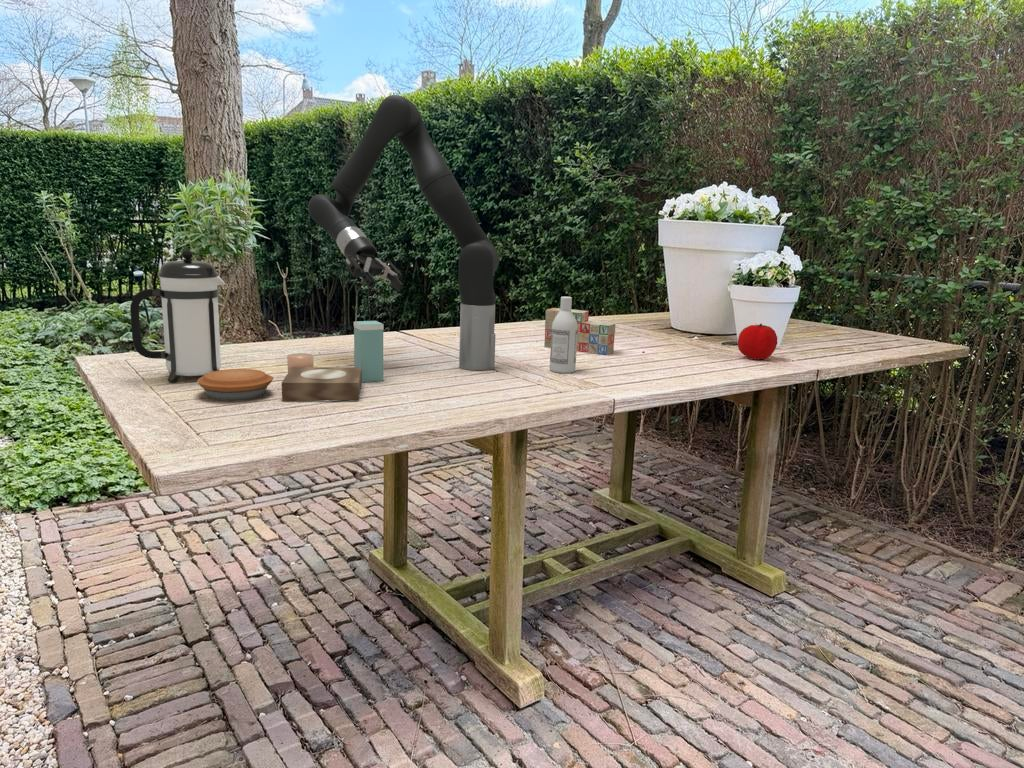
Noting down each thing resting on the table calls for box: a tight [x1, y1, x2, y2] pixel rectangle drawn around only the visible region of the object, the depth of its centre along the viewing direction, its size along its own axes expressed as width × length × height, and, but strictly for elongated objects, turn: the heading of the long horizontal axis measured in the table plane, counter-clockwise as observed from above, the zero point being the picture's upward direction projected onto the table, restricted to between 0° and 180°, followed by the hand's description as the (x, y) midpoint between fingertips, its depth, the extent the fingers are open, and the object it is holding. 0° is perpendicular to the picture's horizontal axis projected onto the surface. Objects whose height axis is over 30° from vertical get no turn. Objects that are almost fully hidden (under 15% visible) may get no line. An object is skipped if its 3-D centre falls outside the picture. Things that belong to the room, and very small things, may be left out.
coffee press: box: [129, 249, 226, 384], centre depth 171 cm, size 17×16×30 cm
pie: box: [197, 368, 274, 402], centre depth 161 cm, size 15×16×5 cm
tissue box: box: [281, 366, 363, 402], centre depth 165 cm, size 16×16×4 cm
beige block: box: [286, 352, 315, 373], centre depth 176 cm, size 6×6×6 cm
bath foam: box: [549, 296, 578, 374], centre depth 196 cm, size 7×7×20 cm
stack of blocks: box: [543, 307, 616, 356], centre depth 230 cm, size 21×6×12 cm, turn 62°
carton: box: [353, 320, 385, 383], centre depth 178 cm, size 6×6×14 cm
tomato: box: [737, 323, 778, 360], centre depth 227 cm, size 12×12×11 cm
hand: (387, 287), depth 182 cm, fingers open, 8 cm apart
